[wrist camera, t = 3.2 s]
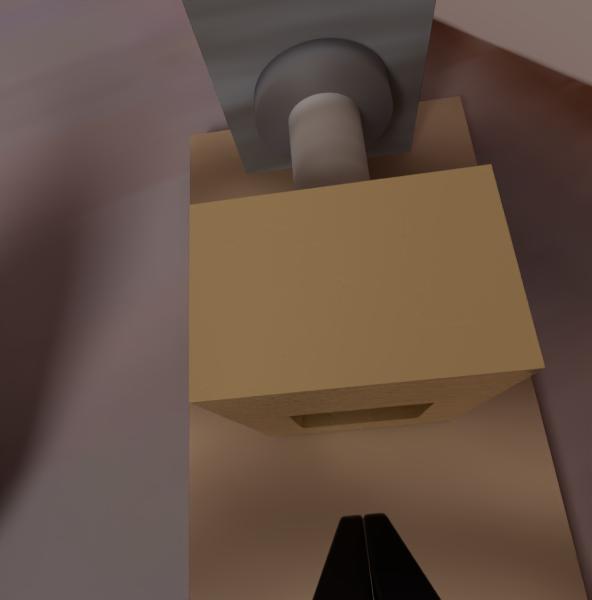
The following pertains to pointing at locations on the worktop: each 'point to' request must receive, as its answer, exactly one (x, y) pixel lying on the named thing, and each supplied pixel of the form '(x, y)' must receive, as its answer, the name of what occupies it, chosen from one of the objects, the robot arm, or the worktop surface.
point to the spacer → (357, 304)
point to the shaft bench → (364, 442)
